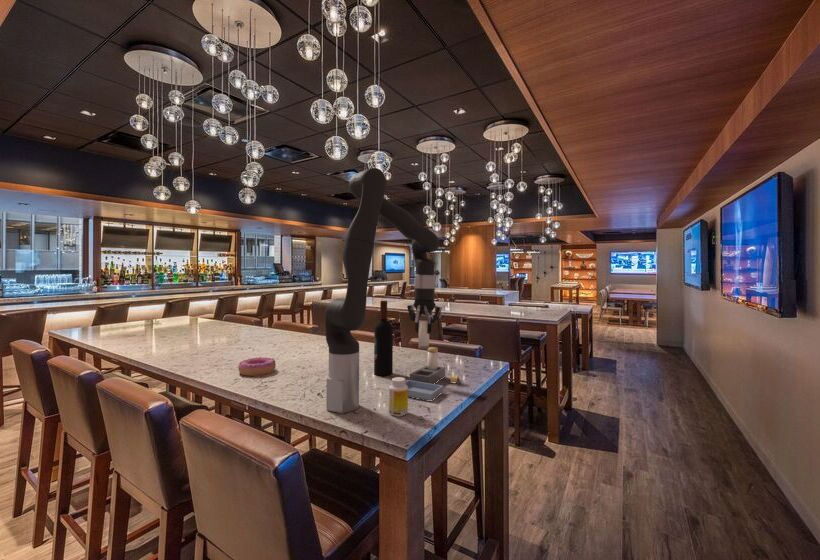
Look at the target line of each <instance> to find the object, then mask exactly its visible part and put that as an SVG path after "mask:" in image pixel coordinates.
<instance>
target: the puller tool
mask: <svg viewBox="0 0 820 560" xmlns="http://www.w3.org/2000/svg"><path fill="white" fill-rule="evenodd" d="M451 382H457V383H458V375H457V374H455V375H453V374H451V375H450V383H451Z"/></svg>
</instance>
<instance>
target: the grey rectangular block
mask: <svg viewBox="0 0 820 560" xmlns="http://www.w3.org/2000/svg"><path fill="white" fill-rule="evenodd" d="M444 376H445V377H446V367H443V366H438V370H437V371H434V370H427V364H426V365H424V366H422V367H420V368H418V369H416V370H415V371H412V372H411V373H409V380H412V381H418V382H424V383H430V384H434V383H436V382H437V381H438V380H440V379H441V378H443V377H444ZM436 384H437V383H436Z"/></svg>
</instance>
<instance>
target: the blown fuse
mask: <svg viewBox="0 0 820 560" xmlns="http://www.w3.org/2000/svg"><path fill="white" fill-rule="evenodd" d="M427 326H428V320H427V318H426V315H422V316H419V333H418V349H419V350H428V349H429V347H430V334H428V333H427Z"/></svg>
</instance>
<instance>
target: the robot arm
mask: <svg viewBox="0 0 820 560" xmlns="http://www.w3.org/2000/svg"><path fill="white" fill-rule="evenodd" d="M386 179H387V178H386V175H385V173H384V172H383V170H381V169H379V168H377V167H371V168H370V167H369V168H367V169H364V170H362V171H360V172H357V173H355V174H354V175H352V176H351V177H350V179H349V182H348V183H349V185H348V186H349V190H350V192H351V194H352V195H353V197H355V198H356V199H357V200H358V201H360V204H359V207H358V210H357V213H356V214H355V216H354V217H353V220H352V221H351V223H350V225H349V227H348V229H347V231H346V234H345V237H344V242H343V248H342V252H341V253H342V254H341V255H342V256H341V257H342V263H343V267H344V270H345V275H346V278H347V279H346V280H347V286H346V293H345V298H344V299H343V298H336V299H335V298H334V299H332V300H331V301H330V302H329V303H328V304H327V307H326V309H325V315H324V316H325V317H324V320H325V322H324V323H325V324H324V325H325V341H326V344H327V347H328V377H327V378H326V401H325V402H326V411H330V412H335V413H337V414H343V415H344V413H349V412H353V411H356V410H357V409H359V406H360V343H359V341H358V340H357V339H356V338H354V336H353V335H352V332H355V331H357V330H359V329H360V327H362V325H363V323H364V321H365V316H366V309H367V296H368V295H367V293H368V283H369V276H370V270H371V269H370V268H371V262H372V258H373V252H374V247H375V246H374V245H375V238H376V234H377V227H378V223H379V218H380V216H381V217H382V218H384V219H385V220H386V221H388V223H389V224H391V225H392V226H393V227H394V228H396V230H398V232H400V233H401V235H402V236H403V237H405V238H406V239H408V240H411V251H412V255H413V259H414V263H415V277H414V302H413V303H412V304H409V305H407V307H406V308H407V311H408V315H409V318H410V321H412V322H414V324H415V326H414V327H415V328H414V330H415V332H416V333H417V334H419V316H426V318H427V320H428V326H427V333H428V334H429V335H431V334H432V333H433V331H434V324H435V323H438V322H439V319H440V315H441V313H442V311H443V307H442V306H438V305H436V303H435V299H436V298H435V297H436V291H435V290H436V282H435V280H436V279H435V261H434V260H433V259H430V258H428V254H427V253H434V252H436V251H437V250H438V249H439V246H440V241H439V240H440V239H439V237H438V236H437V235H436V234H435V232H434V231H432V230H430V229H429V228H427V227H426V226H424V225H423V224H420V223H419V221H418V220H417V219H415V217H414V216H413V215H412V214H411V213H410V212H408V210H406V209H404V208H403V207H401V206H399V205H397V204H395V203H393V202H391V201H390V200H388V199H387V198H385V194H386V189H387V180H386ZM415 311H416V312H415ZM433 311H434V314H433Z"/></svg>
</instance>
